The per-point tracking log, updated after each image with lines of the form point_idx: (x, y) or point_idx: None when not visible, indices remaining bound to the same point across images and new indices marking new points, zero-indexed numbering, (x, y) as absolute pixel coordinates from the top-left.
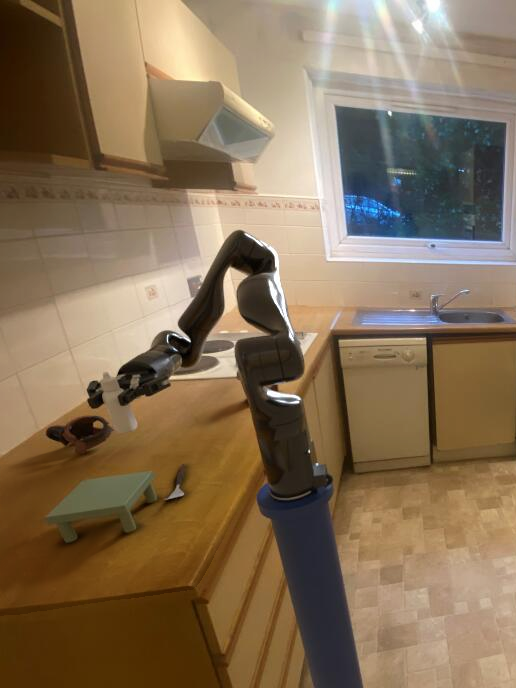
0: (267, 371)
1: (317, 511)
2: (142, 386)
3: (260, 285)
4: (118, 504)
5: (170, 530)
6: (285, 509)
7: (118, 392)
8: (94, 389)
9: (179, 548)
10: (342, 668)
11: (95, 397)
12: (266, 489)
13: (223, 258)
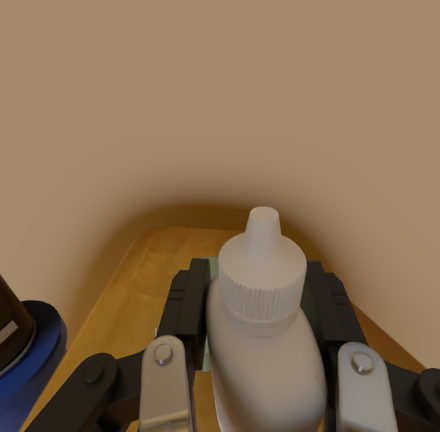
0: None
1: None
2: (116, 361)
3: None
4: (209, 260)
5: (166, 284)
6: (37, 301)
7: (219, 290)
8: (419, 392)
9: (154, 256)
10: None
11: (306, 277)
12: (32, 361)
13: None
